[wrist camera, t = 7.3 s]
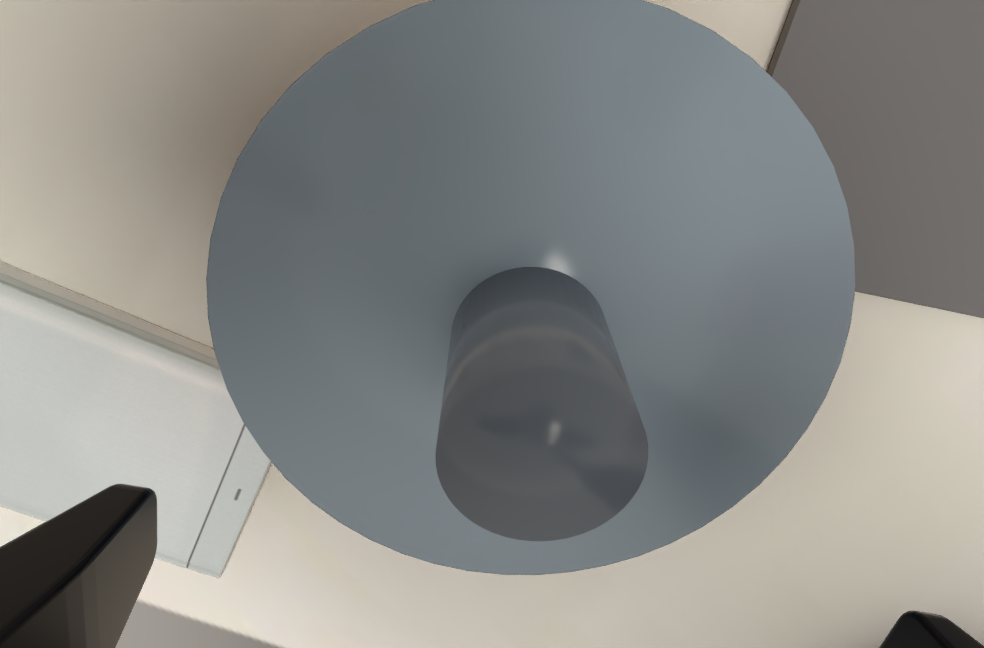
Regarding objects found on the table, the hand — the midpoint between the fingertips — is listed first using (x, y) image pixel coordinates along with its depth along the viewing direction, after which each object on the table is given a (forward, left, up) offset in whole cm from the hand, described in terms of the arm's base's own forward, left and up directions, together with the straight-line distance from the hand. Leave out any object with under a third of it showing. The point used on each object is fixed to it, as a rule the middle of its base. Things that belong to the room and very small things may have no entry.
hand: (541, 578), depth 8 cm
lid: (0, 0, -7) cm, 7 cm away
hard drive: (-8, +12, -13) cm, 19 cm away
